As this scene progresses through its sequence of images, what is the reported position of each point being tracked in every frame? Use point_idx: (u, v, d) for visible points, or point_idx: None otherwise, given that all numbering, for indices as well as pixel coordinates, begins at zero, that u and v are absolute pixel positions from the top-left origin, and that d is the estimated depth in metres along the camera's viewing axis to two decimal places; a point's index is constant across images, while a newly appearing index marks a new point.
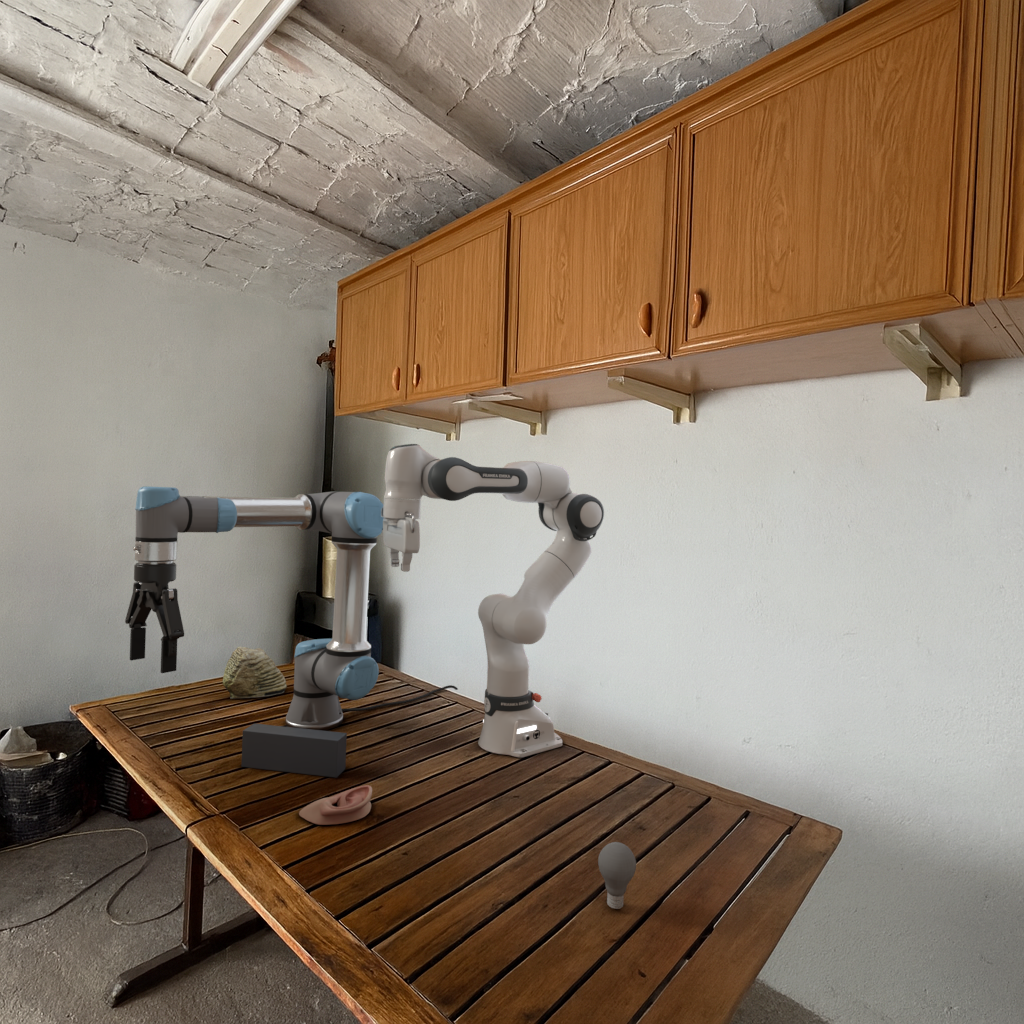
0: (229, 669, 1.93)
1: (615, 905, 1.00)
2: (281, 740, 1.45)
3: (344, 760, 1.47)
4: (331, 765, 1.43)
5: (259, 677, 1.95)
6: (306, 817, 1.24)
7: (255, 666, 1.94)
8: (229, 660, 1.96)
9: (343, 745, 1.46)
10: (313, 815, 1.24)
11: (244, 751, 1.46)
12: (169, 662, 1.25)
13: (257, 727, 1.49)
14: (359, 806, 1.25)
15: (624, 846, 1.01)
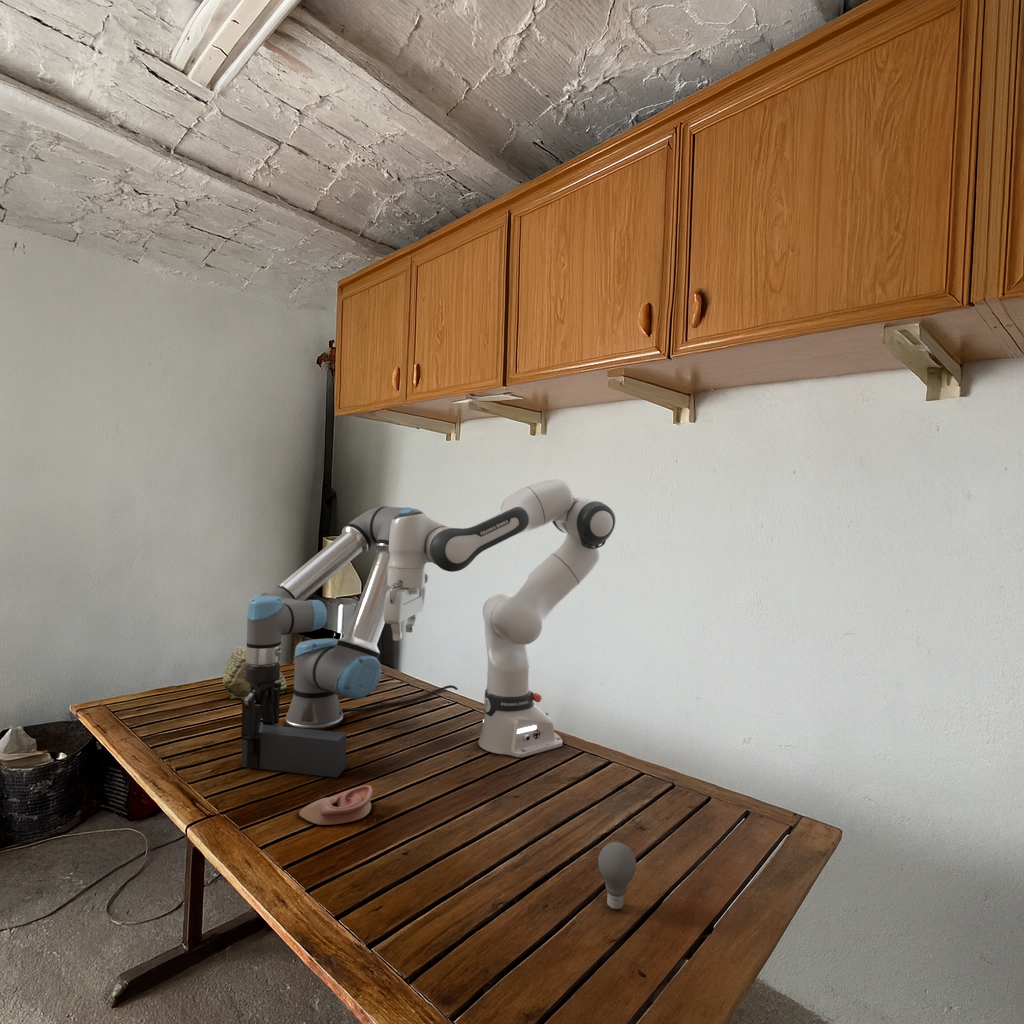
0: (229, 669, 1.93)
1: (615, 905, 1.00)
2: (281, 740, 1.45)
3: (344, 760, 1.47)
4: (331, 765, 1.43)
5: None
6: (306, 817, 1.24)
7: None
8: (229, 660, 1.96)
9: (343, 745, 1.46)
10: (313, 815, 1.24)
11: (244, 751, 1.46)
12: None
13: None
14: (359, 806, 1.25)
15: (624, 846, 1.01)
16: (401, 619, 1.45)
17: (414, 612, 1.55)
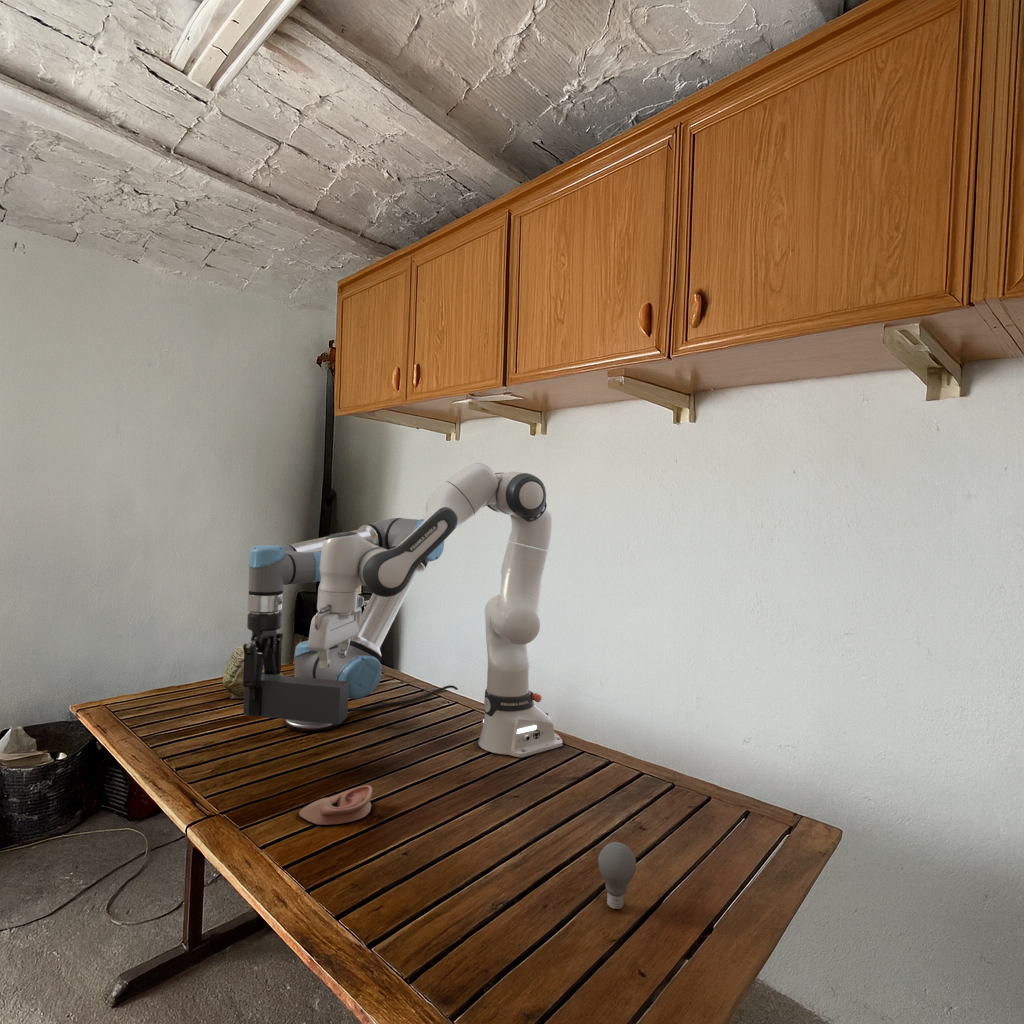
0: (229, 669, 1.93)
1: (615, 905, 1.00)
2: (283, 688, 1.45)
3: (346, 708, 1.47)
4: (333, 712, 1.43)
5: None
6: (306, 817, 1.24)
7: None
8: (229, 660, 1.96)
9: (345, 693, 1.46)
10: (313, 815, 1.24)
11: (246, 699, 1.46)
12: None
13: None
14: (359, 806, 1.25)
15: (624, 846, 1.01)
16: (327, 646, 1.37)
17: (346, 637, 1.47)
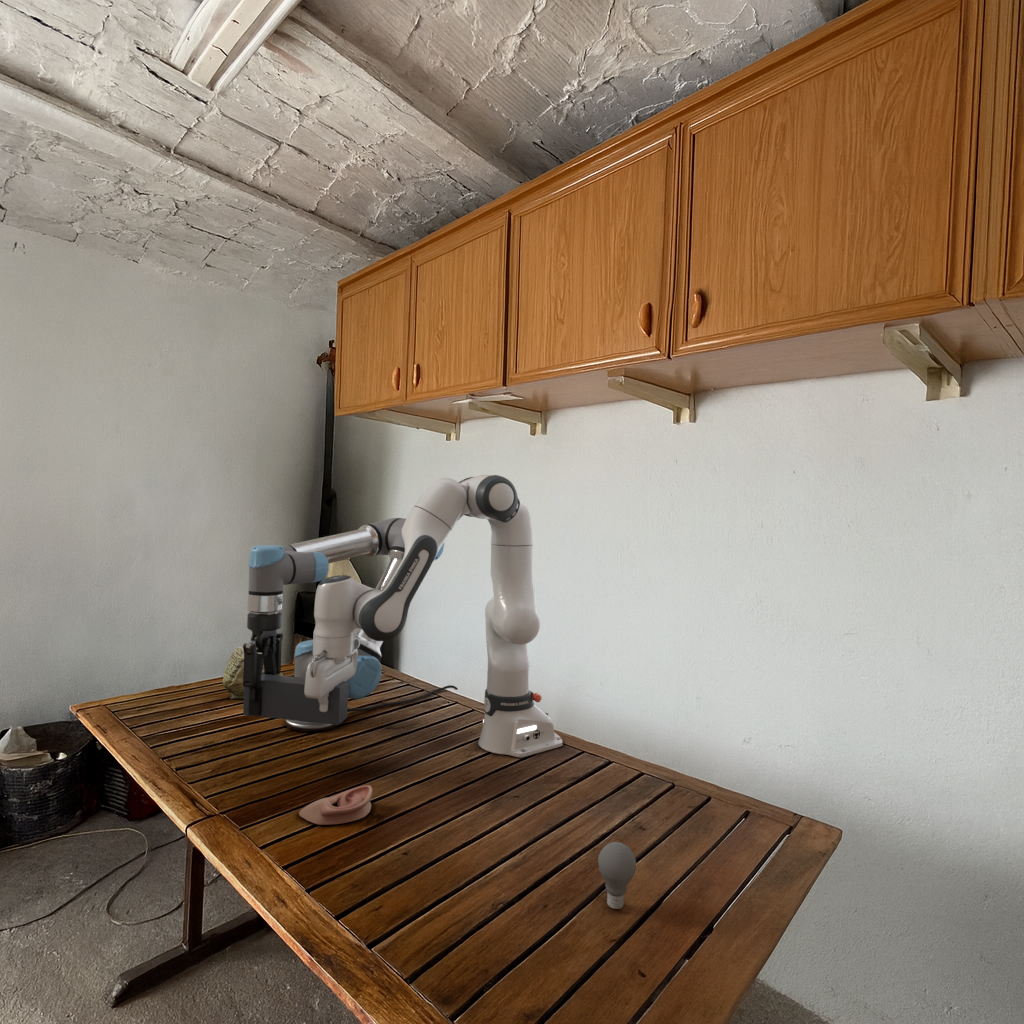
0: (229, 669, 1.93)
1: (615, 905, 1.00)
2: (283, 688, 1.45)
3: (346, 709, 1.47)
4: (332, 712, 1.43)
5: None
6: (306, 817, 1.24)
7: None
8: (229, 660, 1.96)
9: (345, 694, 1.46)
10: (313, 815, 1.24)
11: (246, 699, 1.46)
12: None
13: None
14: (359, 806, 1.25)
15: (624, 846, 1.01)
16: (324, 693, 1.38)
17: (342, 680, 1.47)
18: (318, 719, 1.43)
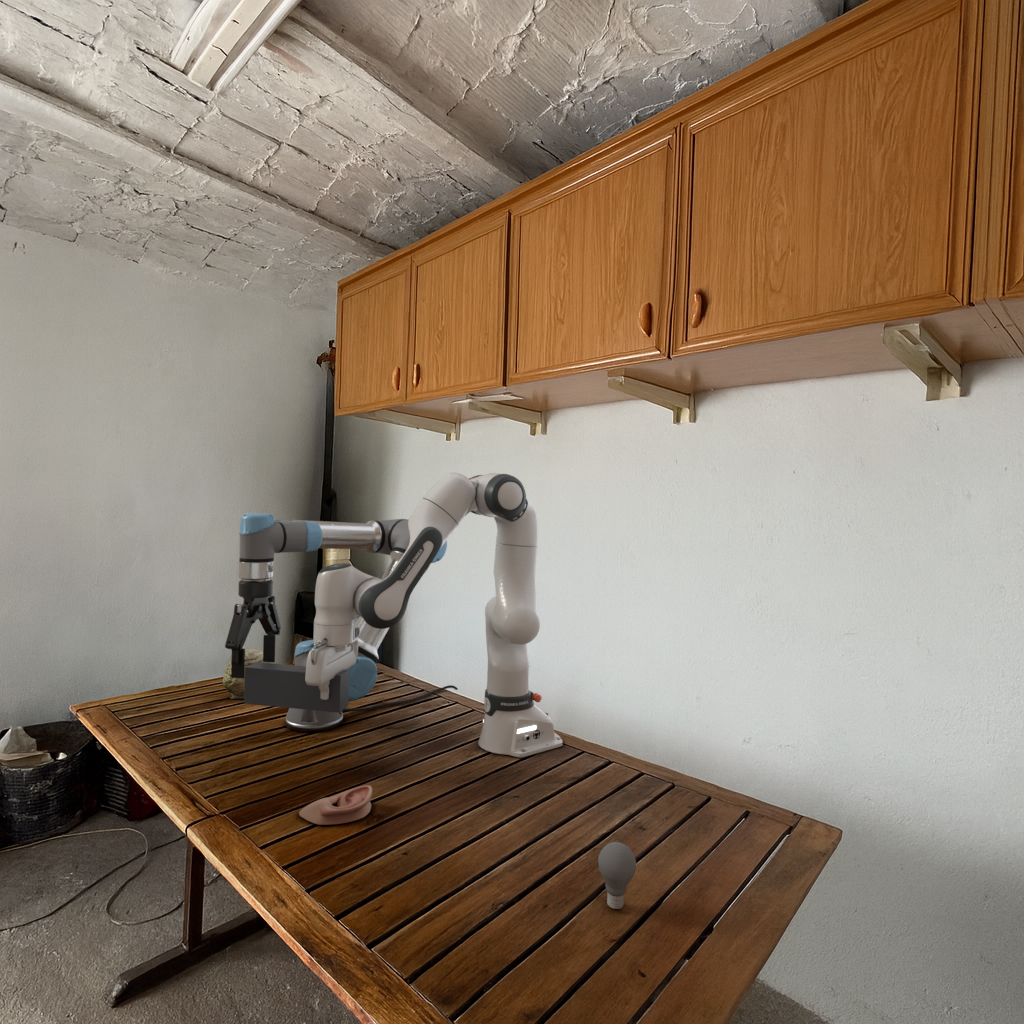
0: (229, 669, 1.93)
1: (615, 905, 1.00)
2: (284, 676, 1.45)
3: (347, 697, 1.47)
4: (333, 700, 1.43)
5: None
6: (306, 817, 1.24)
7: None
8: (229, 660, 1.96)
9: (346, 682, 1.46)
10: (313, 815, 1.24)
11: (247, 688, 1.46)
12: None
13: (259, 664, 1.49)
14: (359, 806, 1.25)
15: (624, 846, 1.01)
16: (324, 680, 1.38)
17: (343, 669, 1.47)
18: (319, 707, 1.43)
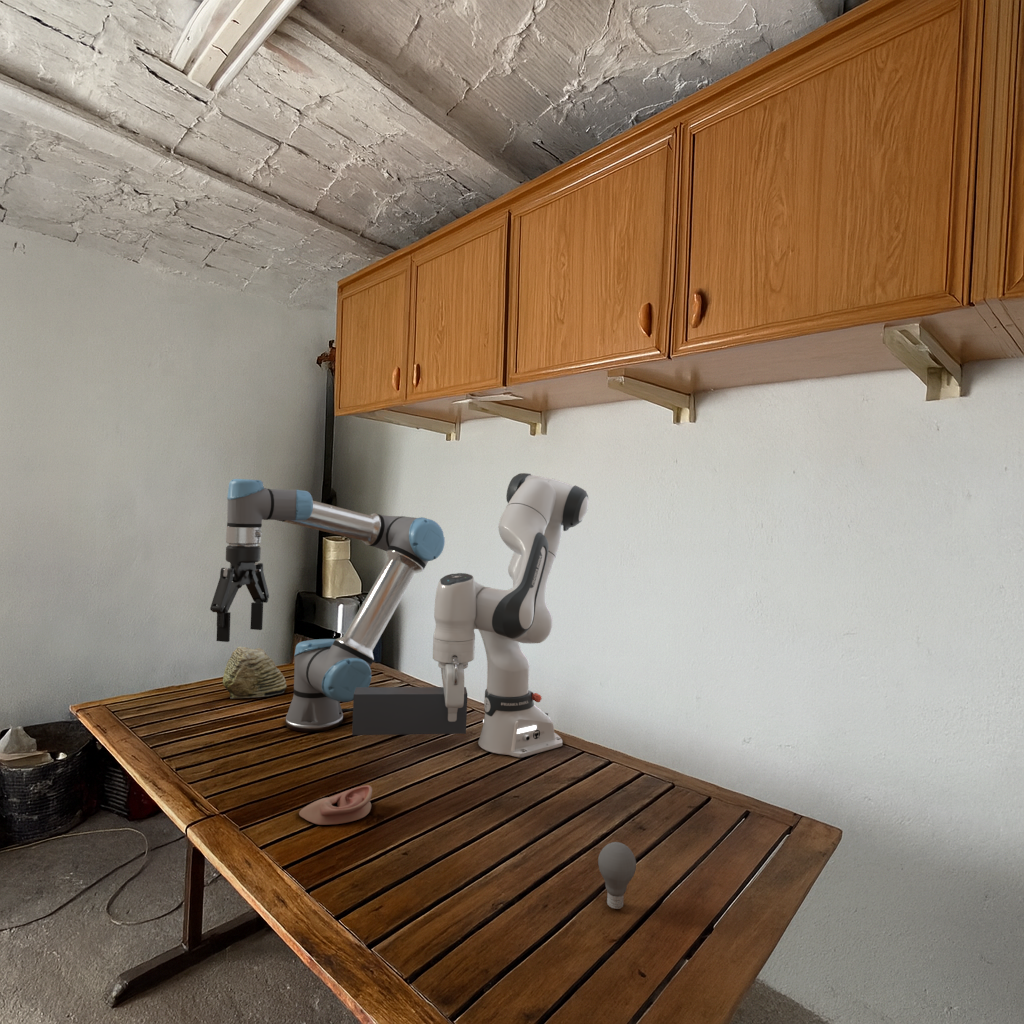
0: (229, 669, 1.93)
1: (615, 905, 1.00)
2: (401, 700, 1.31)
3: None
4: (459, 721, 1.33)
5: (259, 677, 1.95)
6: (306, 817, 1.24)
7: (255, 666, 1.94)
8: (229, 660, 1.96)
9: None
10: (313, 815, 1.24)
11: (356, 717, 1.30)
12: None
13: (364, 690, 1.33)
14: (359, 806, 1.25)
15: (624, 846, 1.01)
16: None
17: None
18: (443, 730, 1.32)
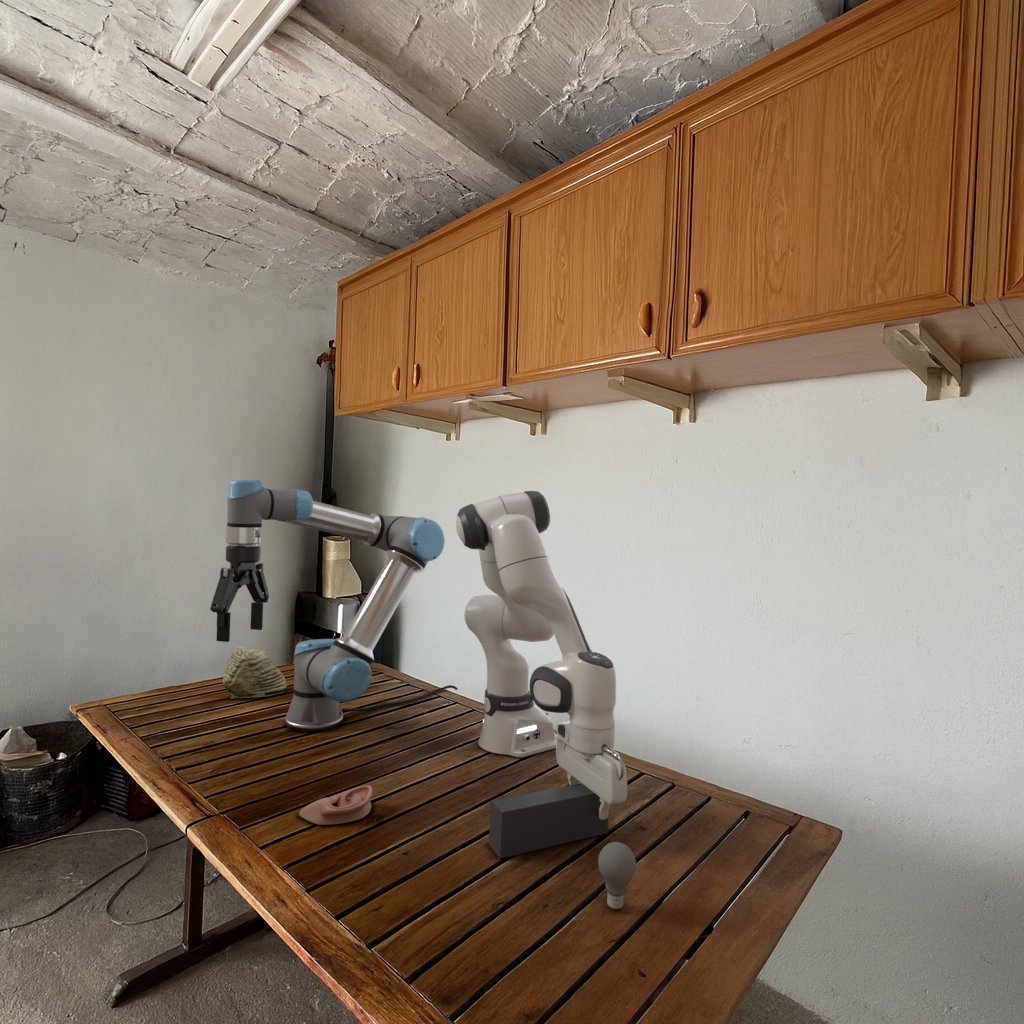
0: (229, 669, 1.93)
1: (615, 905, 1.00)
2: (549, 809, 1.18)
3: None
4: (602, 821, 1.23)
5: (259, 677, 1.95)
6: (306, 817, 1.24)
7: (255, 666, 1.94)
8: (229, 660, 1.96)
9: None
10: (313, 815, 1.24)
11: (504, 838, 1.14)
12: None
13: (505, 803, 1.17)
14: (359, 806, 1.25)
15: (624, 846, 1.01)
16: None
17: None
18: (587, 834, 1.22)
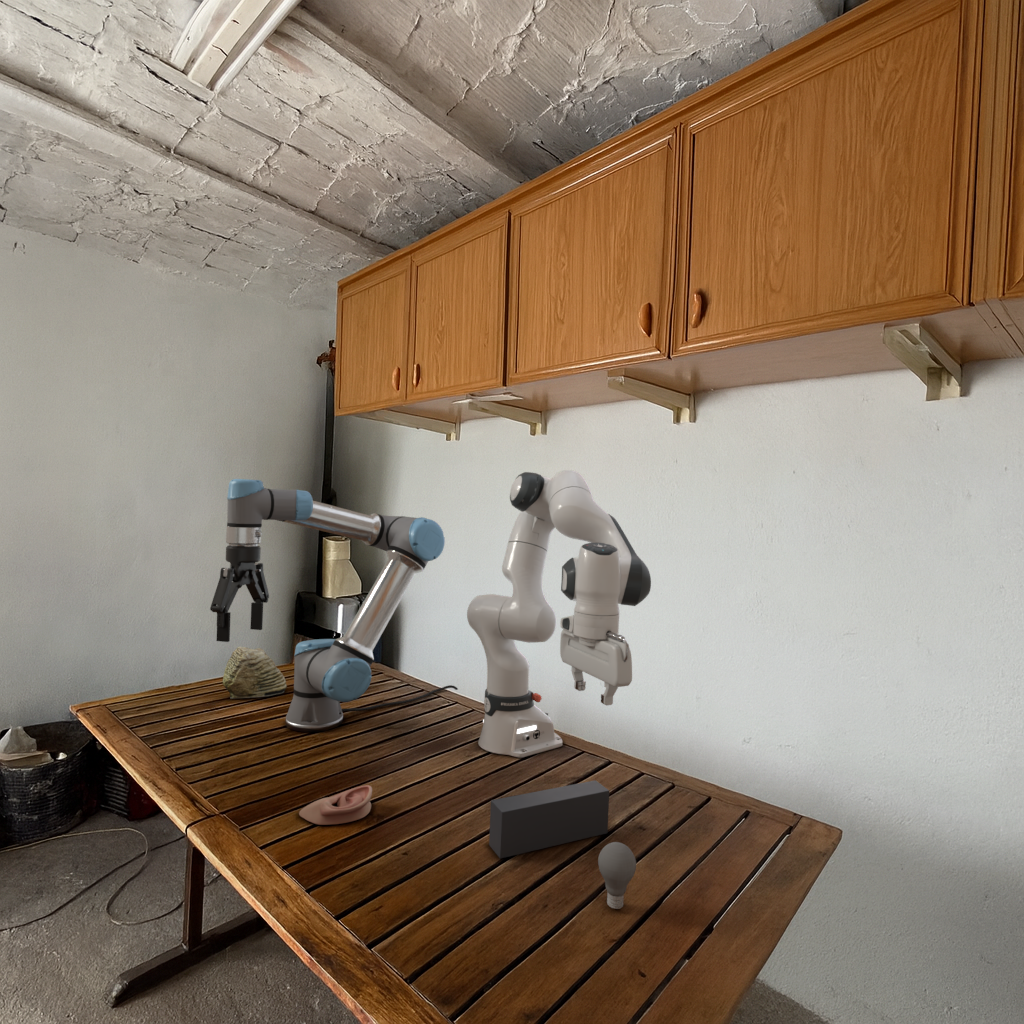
0: (229, 669, 1.93)
1: (615, 905, 1.00)
2: (549, 809, 1.18)
3: None
4: (602, 821, 1.23)
5: (259, 677, 1.95)
6: (306, 817, 1.24)
7: (255, 666, 1.94)
8: (229, 660, 1.96)
9: None
10: (313, 815, 1.24)
11: (504, 838, 1.14)
12: None
13: (505, 803, 1.17)
14: (359, 806, 1.25)
15: (624, 846, 1.01)
16: None
17: None
18: (587, 834, 1.22)
